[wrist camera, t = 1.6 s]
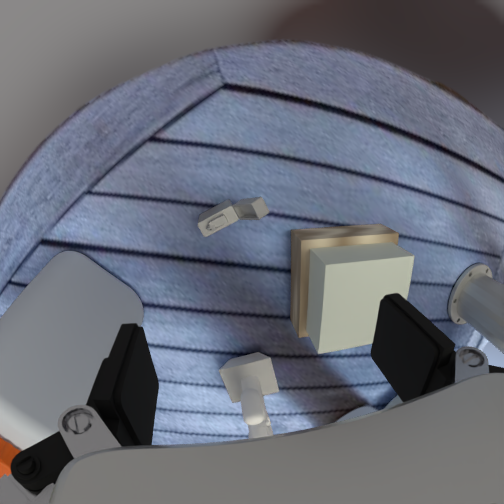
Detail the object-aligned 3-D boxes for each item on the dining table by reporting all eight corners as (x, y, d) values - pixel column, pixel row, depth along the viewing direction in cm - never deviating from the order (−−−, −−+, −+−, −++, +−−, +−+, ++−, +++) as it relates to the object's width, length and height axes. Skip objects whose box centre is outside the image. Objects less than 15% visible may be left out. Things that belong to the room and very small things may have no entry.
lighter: (205, 227, 36) (204, 249, 29) (198, 215, 36) (195, 233, 28) (258, 199, 36) (271, 214, 28) (251, 187, 35) (263, 197, 28)
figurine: (232, 391, 45) (242, 467, 31) (215, 348, 42) (220, 429, 28) (275, 380, 46) (297, 454, 32) (264, 336, 42) (287, 414, 28)
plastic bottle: (65, 235, 34) (-83, 367, 8) (157, 300, 38) (110, 500, 12) (32, 312, 37) (-61, 444, 10) (110, 366, 41) (66, 525, 15)
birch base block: (379, 223, 39) (398, 233, 35) (370, 305, 44) (385, 322, 39) (290, 228, 38) (301, 240, 33) (289, 317, 42) (298, 337, 38)
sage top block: (391, 242, 35) (414, 255, 30) (380, 318, 39) (398, 337, 34) (310, 248, 34) (325, 264, 29) (306, 330, 37) (318, 354, 33)
